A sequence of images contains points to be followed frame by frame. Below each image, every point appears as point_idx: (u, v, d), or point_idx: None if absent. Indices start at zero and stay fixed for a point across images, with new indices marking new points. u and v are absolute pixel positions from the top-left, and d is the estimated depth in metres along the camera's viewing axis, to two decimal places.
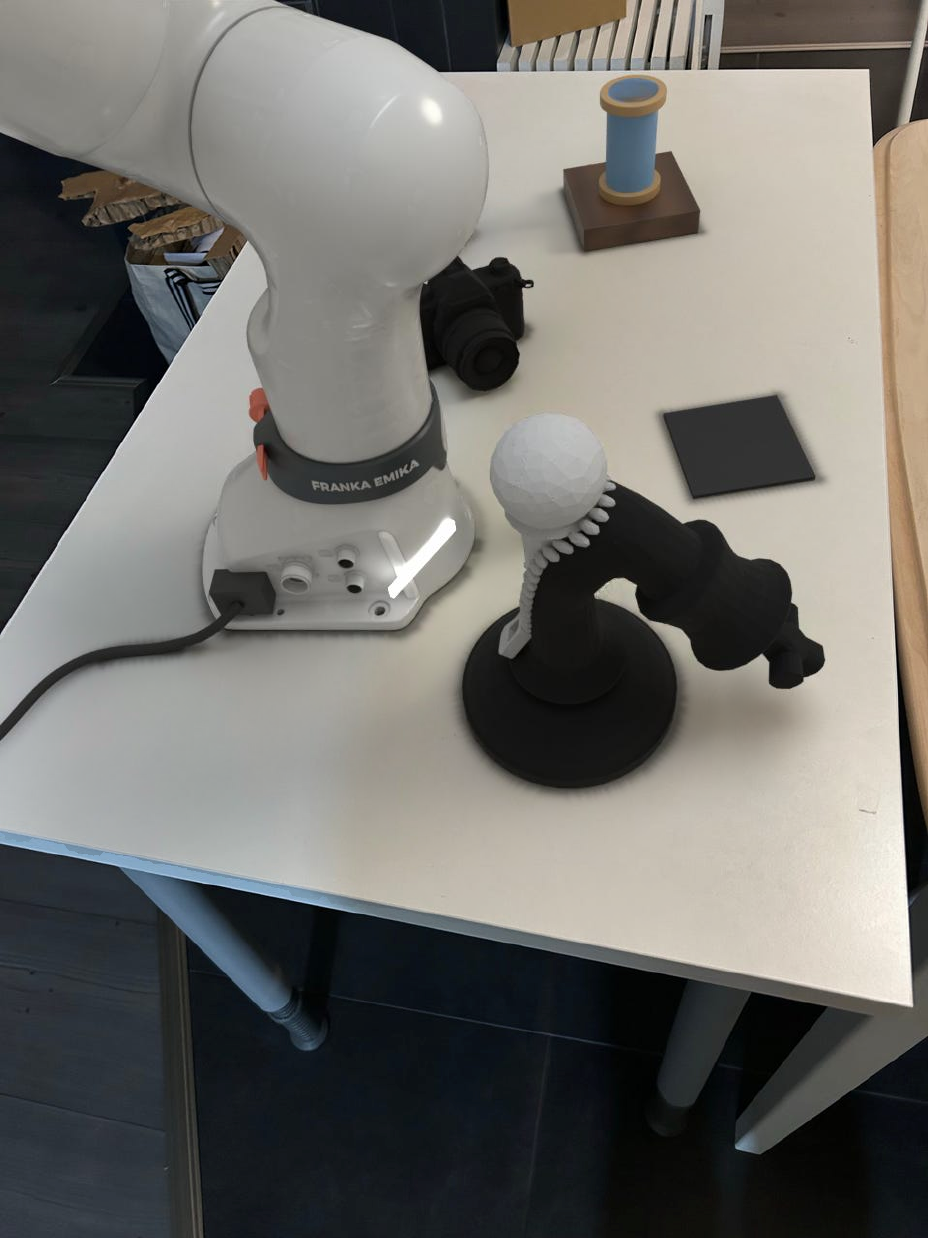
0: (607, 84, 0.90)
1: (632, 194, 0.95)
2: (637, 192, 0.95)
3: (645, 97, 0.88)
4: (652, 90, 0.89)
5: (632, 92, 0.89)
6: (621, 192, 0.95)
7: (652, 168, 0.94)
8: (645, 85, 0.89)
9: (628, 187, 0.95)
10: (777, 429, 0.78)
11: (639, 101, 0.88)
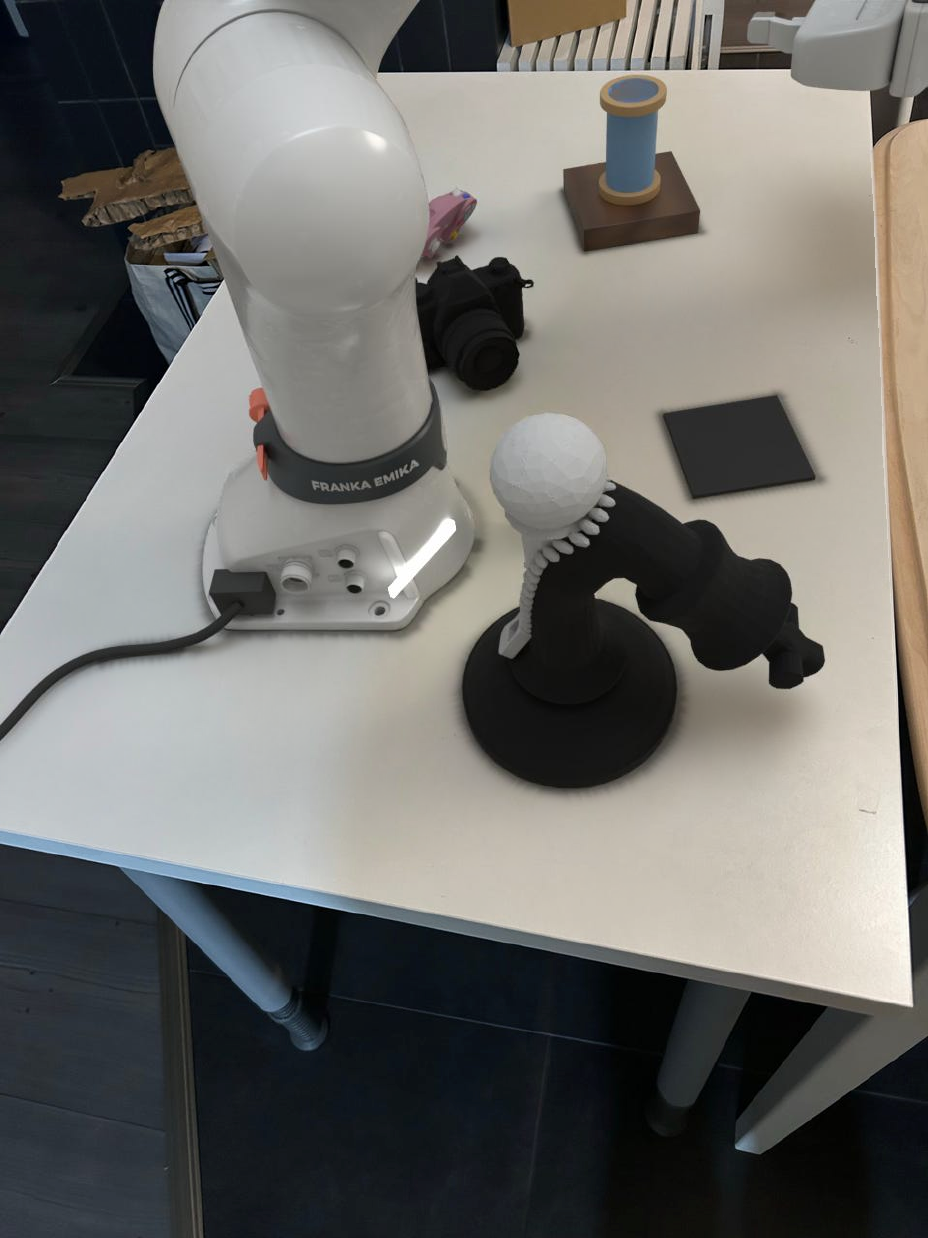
0: (607, 84, 0.90)
1: (632, 194, 0.95)
2: (637, 192, 0.95)
3: (645, 97, 0.88)
4: (652, 90, 0.89)
5: (632, 92, 0.89)
6: (621, 192, 0.95)
7: (652, 168, 0.94)
8: (645, 85, 0.89)
9: (628, 187, 0.95)
10: (777, 429, 0.78)
11: (639, 101, 0.88)
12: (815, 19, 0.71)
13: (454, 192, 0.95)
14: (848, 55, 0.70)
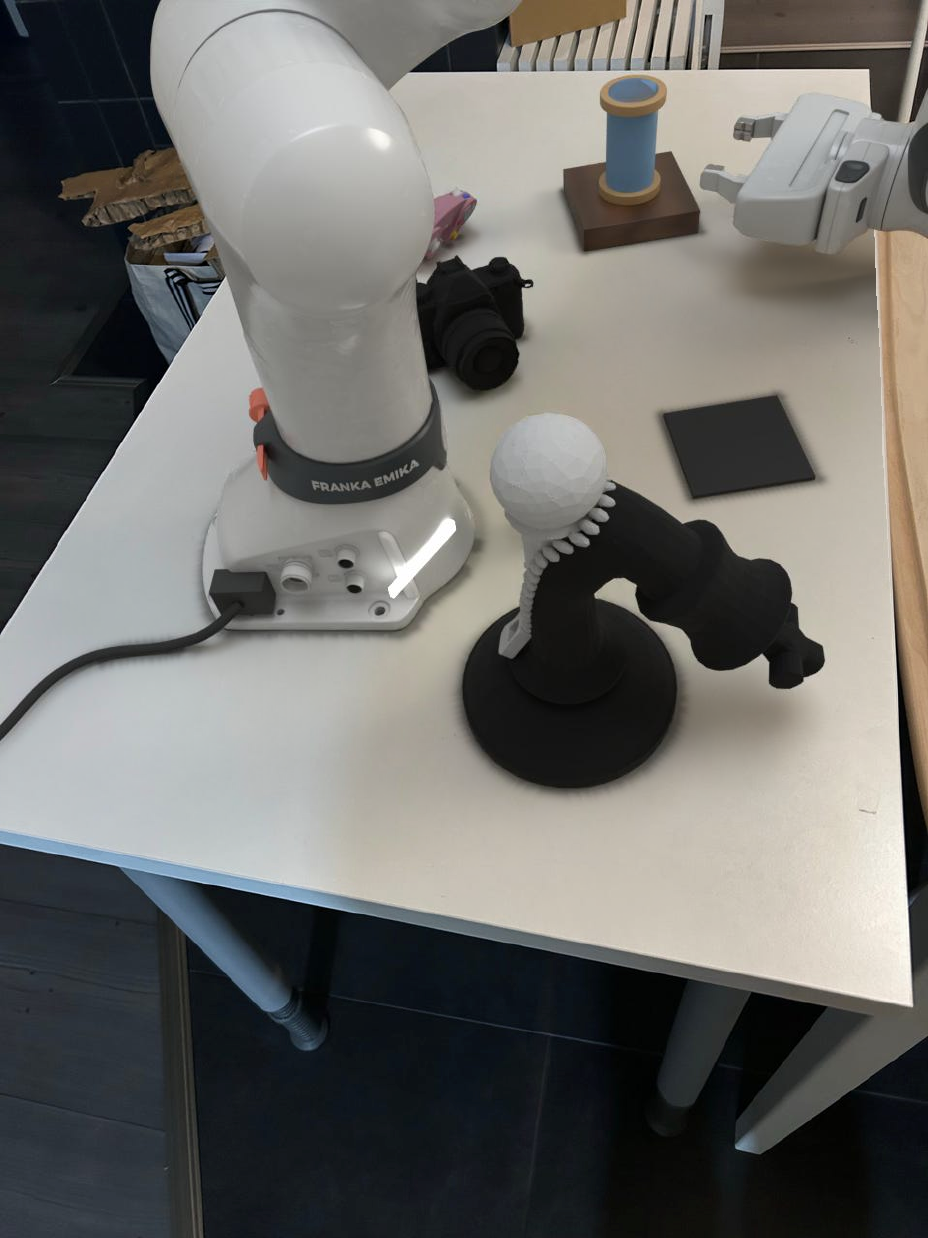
0: (607, 84, 0.90)
1: (632, 194, 0.95)
2: (637, 192, 0.95)
3: (645, 97, 0.88)
4: (652, 90, 0.89)
5: (632, 92, 0.89)
6: (621, 192, 0.95)
7: (652, 168, 0.94)
8: (645, 85, 0.89)
9: (628, 187, 0.95)
10: (777, 429, 0.78)
11: (639, 101, 0.88)
12: (755, 181, 0.83)
13: (454, 192, 0.95)
14: (781, 216, 0.81)
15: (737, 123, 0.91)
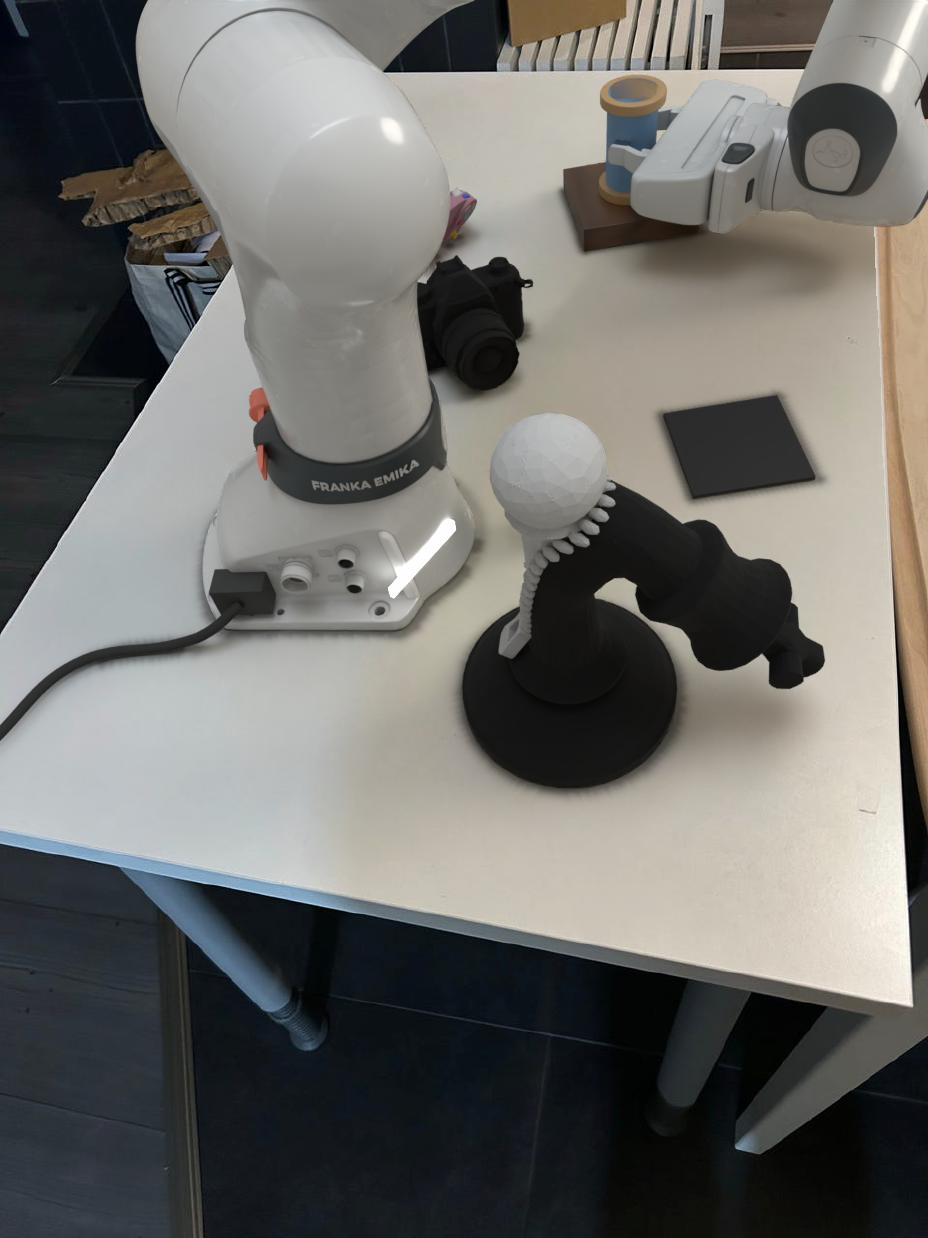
0: (607, 84, 0.90)
1: None
2: None
3: (645, 97, 0.88)
4: (652, 90, 0.89)
5: (632, 92, 0.89)
6: (621, 192, 0.95)
7: None
8: (645, 85, 0.89)
9: (628, 187, 0.95)
10: (777, 429, 0.78)
11: (639, 101, 0.88)
12: (650, 163, 0.86)
13: (454, 192, 0.95)
14: (672, 197, 0.85)
15: None
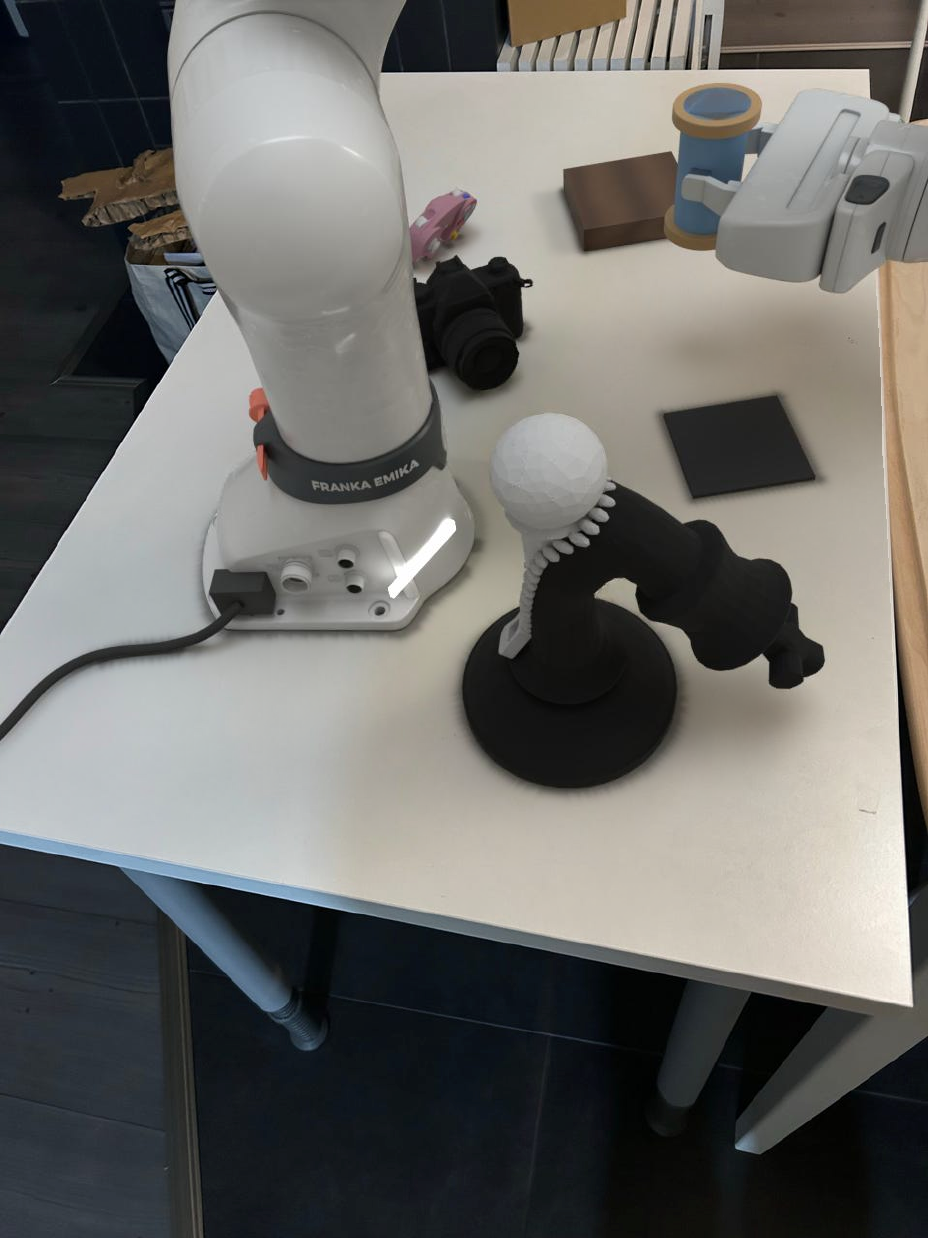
0: (681, 95, 0.69)
1: (710, 237, 0.73)
2: (716, 234, 0.74)
3: (734, 113, 0.67)
4: (743, 104, 0.67)
5: (716, 106, 0.68)
6: (695, 234, 0.74)
7: None
8: (732, 97, 0.68)
9: (705, 227, 0.73)
10: (777, 429, 0.78)
11: (727, 118, 0.66)
12: (743, 201, 0.65)
13: (454, 192, 0.95)
14: (775, 247, 0.64)
15: None
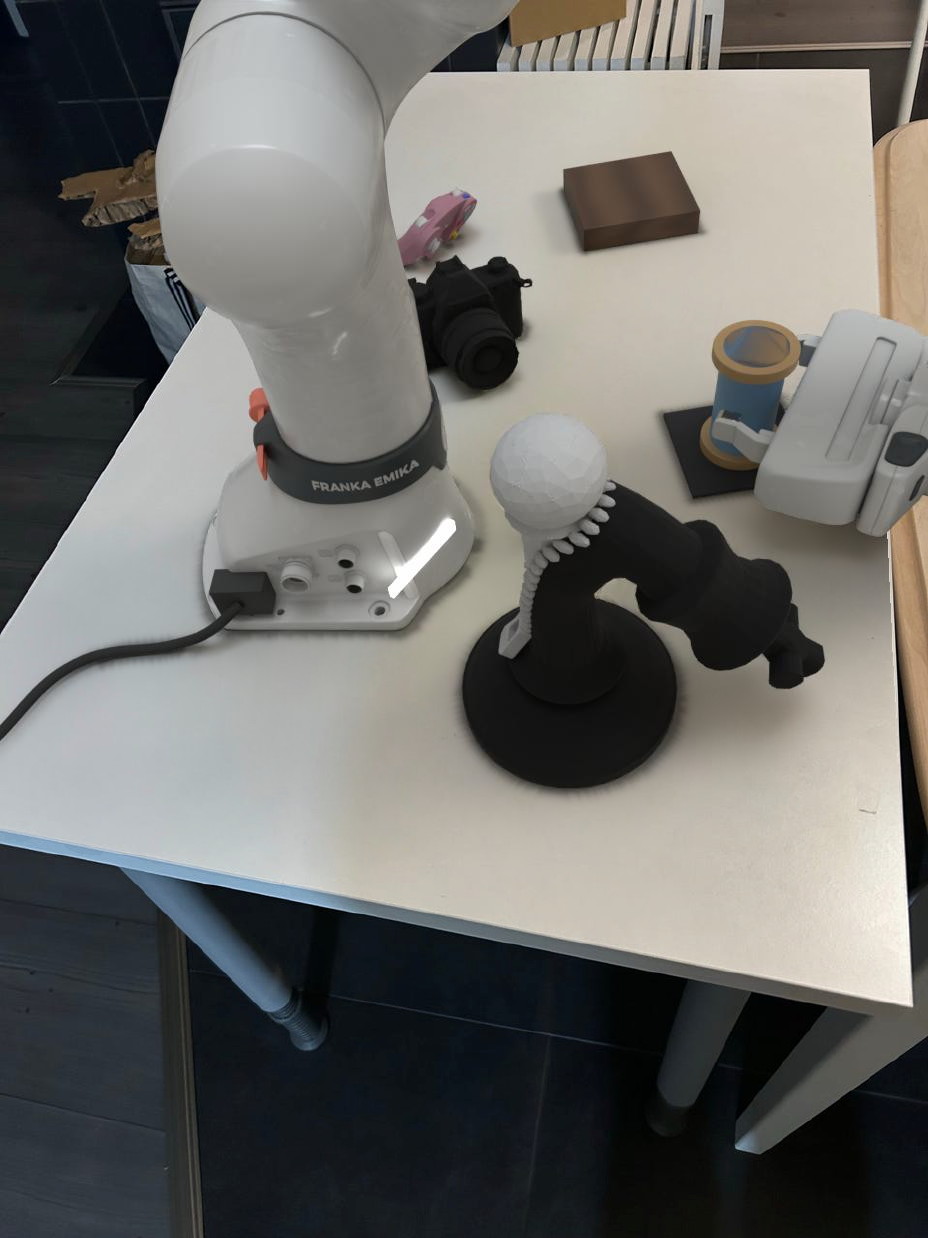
0: (721, 334, 0.70)
1: (746, 459, 0.75)
2: None
3: (773, 359, 0.68)
4: (782, 349, 0.69)
5: (755, 350, 0.69)
6: (731, 455, 0.75)
7: (772, 428, 0.74)
8: (772, 339, 0.69)
9: None
10: None
11: (767, 366, 0.68)
12: (783, 447, 0.66)
13: (454, 192, 0.95)
14: (815, 497, 0.65)
15: None
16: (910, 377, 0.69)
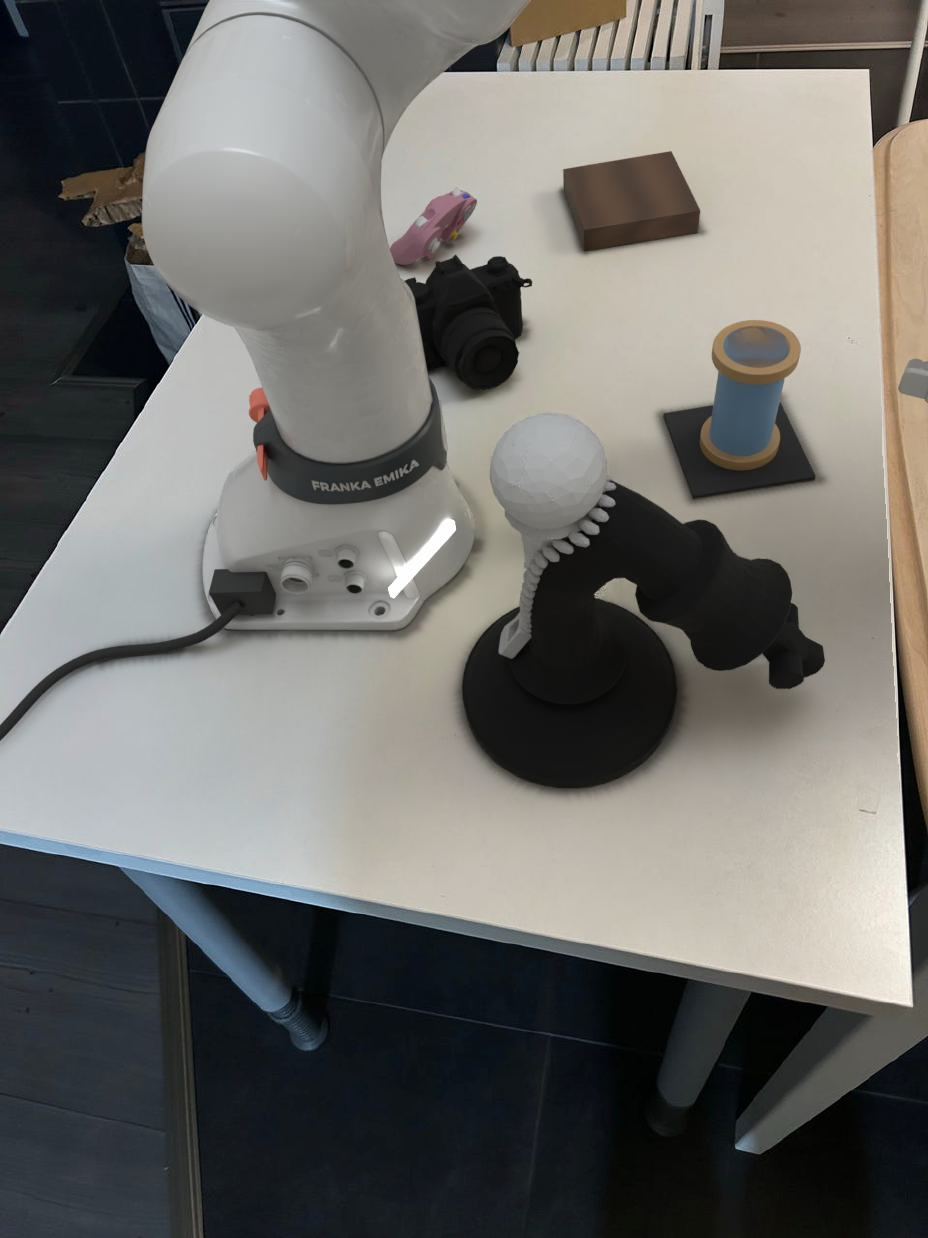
0: (721, 334, 0.70)
1: (746, 459, 0.75)
2: (752, 456, 0.75)
3: (773, 359, 0.68)
4: (782, 349, 0.69)
5: (755, 350, 0.69)
6: (731, 455, 0.75)
7: (772, 428, 0.74)
8: (772, 339, 0.69)
9: (742, 450, 0.75)
10: None
11: (767, 366, 0.68)
12: None
13: (454, 192, 0.95)
14: None
15: None
16: None
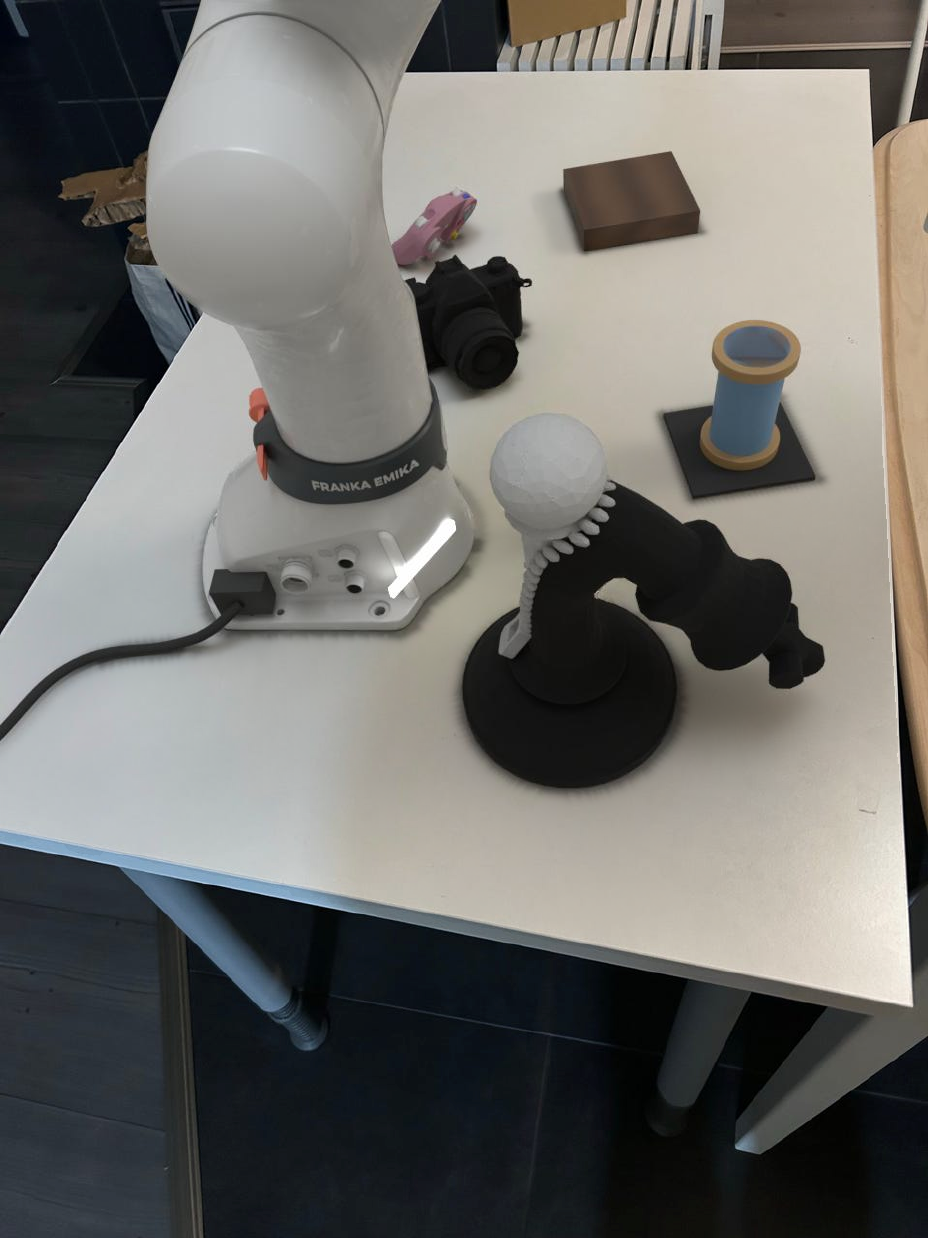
0: (721, 334, 0.70)
1: (746, 459, 0.75)
2: (752, 456, 0.75)
3: (773, 359, 0.68)
4: (782, 349, 0.69)
5: (755, 350, 0.69)
6: (731, 455, 0.75)
7: (772, 428, 0.74)
8: (772, 339, 0.69)
9: (742, 450, 0.75)
10: None
11: (767, 366, 0.68)
12: None
13: (454, 192, 0.95)
14: None
15: None
16: None
